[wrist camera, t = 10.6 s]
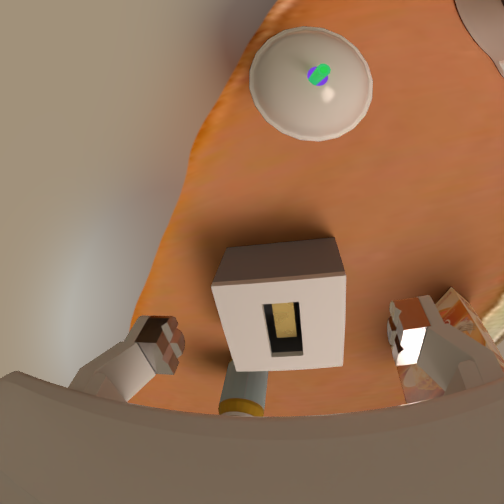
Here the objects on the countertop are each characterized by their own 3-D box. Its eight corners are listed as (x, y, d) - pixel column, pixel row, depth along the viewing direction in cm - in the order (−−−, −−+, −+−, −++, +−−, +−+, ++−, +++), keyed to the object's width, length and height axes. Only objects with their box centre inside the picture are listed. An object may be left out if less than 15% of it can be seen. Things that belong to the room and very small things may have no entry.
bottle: (269, 353, 47) (261, 430, 34) (267, 378, 50) (259, 449, 37) (228, 349, 48) (210, 424, 35) (230, 374, 51) (214, 443, 38)
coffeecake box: (450, 285, 37) (507, 379, 20) (470, 303, 38) (520, 389, 21) (388, 347, 44) (413, 446, 27) (412, 359, 45) (438, 449, 28)
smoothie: (249, 99, 30) (197, 88, 12) (293, 45, 26) (300, -33, 8) (309, 142, 31) (337, 190, 14) (353, 90, 28) (436, 73, 10)
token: (292, 271, 38) (293, 299, 33) (296, 307, 41) (296, 336, 36) (273, 273, 39) (271, 300, 34) (279, 308, 41) (277, 337, 36)
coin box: (334, 237, 36) (346, 275, 28) (335, 321, 42) (342, 365, 35) (226, 247, 39) (210, 286, 31) (245, 327, 45) (236, 371, 37)
